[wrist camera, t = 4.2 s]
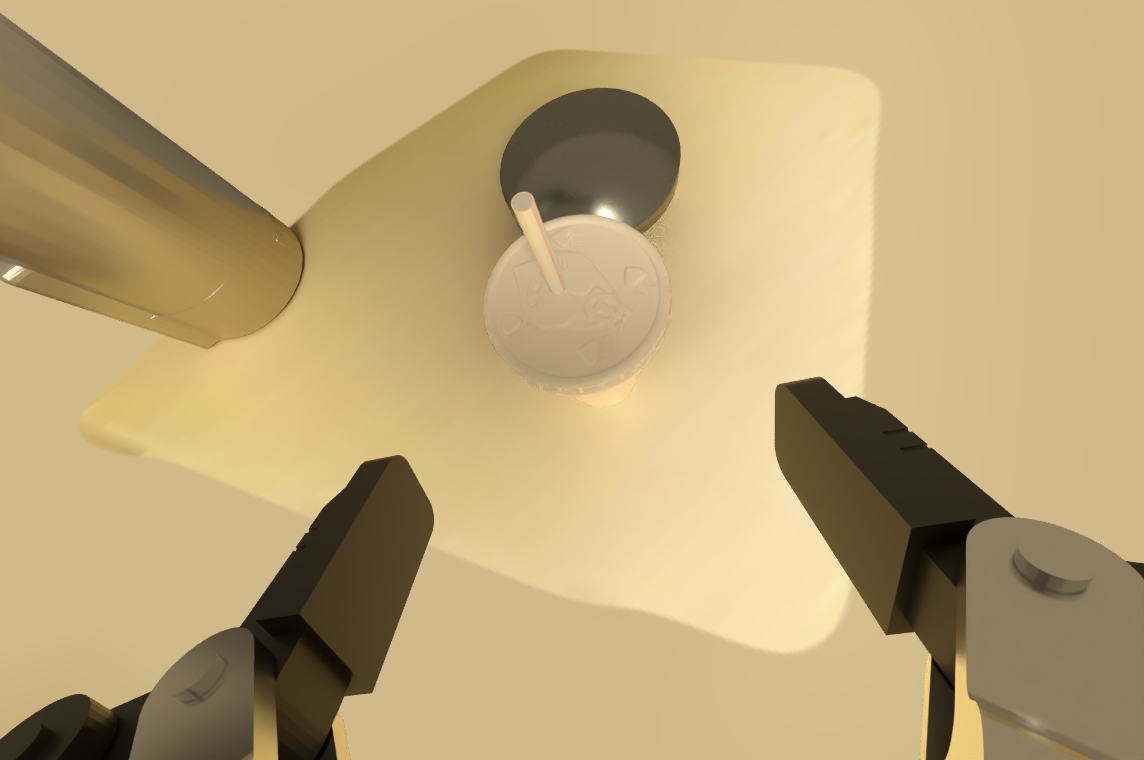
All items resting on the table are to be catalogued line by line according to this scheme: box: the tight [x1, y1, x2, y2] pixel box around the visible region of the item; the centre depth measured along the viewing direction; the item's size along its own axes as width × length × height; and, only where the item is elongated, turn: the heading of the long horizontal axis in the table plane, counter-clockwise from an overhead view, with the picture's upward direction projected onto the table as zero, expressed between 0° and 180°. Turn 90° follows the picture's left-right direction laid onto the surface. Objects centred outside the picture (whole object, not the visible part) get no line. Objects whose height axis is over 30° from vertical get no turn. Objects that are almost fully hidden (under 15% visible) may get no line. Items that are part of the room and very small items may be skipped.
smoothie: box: [483, 192, 671, 407], centre depth 16 cm, size 6×6×14 cm
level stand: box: [500, 88, 681, 234], centre depth 24 cm, size 10×10×3 cm
